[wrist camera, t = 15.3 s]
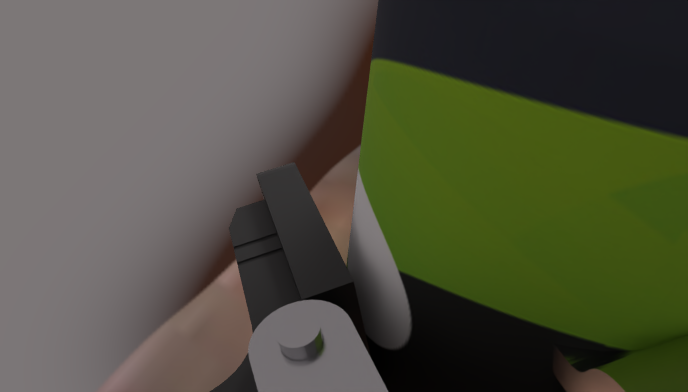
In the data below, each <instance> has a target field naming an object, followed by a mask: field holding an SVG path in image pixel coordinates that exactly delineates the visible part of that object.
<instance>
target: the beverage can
mask: <svg viewBox="0 0 688 392" xmlns="http://www.w3.org/2000/svg"><path fill="white" fill-rule="evenodd" d="M346 267H347V269H348V271H349V273H350V275H351V277H352V279H353V281H354V285H355V290H356V294H357V298H358V303H359V307H360V311H361V316H362V320H363V324H364V329H365V333H366V337H367V342H368V346H369V350H370V355H371V359H372V361H373V363H374V365H375V367H376V369H377V371H378V373H379V375H380V377H381V379H382V380H383V382H384V384H385V386H386V388H387V390H388V392H566V390H565V389H564V387H563V386H562V385H561V383H560V382H559V380H558V379H557V378H556V376H555V375H554V374H553V372H552V363H553V350H554V344H558V345H564V346H570V347H576V348H583V349H591V350H599V351H632V350H639V349H646V348H650V347H653V346H656V345H658V344H661V343H664V342H667V341H669V340H672V339H675V338H678V337H681V336H684V335H687V334H688V0H379V2H378V10H377V18H376V27H375V34H374V43H373V51H372V60H371V69H370V76H369V84H368V92H367V101H366V109H365V117H364V126H363V135H362V142H361V150H360V159H359V167H358V175H357V183H356V192H355V200H354V208H353V217H352V225H351V233H350V241H349V250H348V258H347V266H346Z"/></svg>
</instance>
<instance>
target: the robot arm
mask: <svg viewBox="0 0 688 392" xmlns="http://www.w3.org/2000/svg"><path fill="white" fill-rule="evenodd" d="M256 175H257V178H258V182H259V185H260V188H261V191H262V194H263V198H264V200H262V201H259V202H256V203H253V204H250V205H247V206H244V207H240V208H237V209H236V212H235V214H234V217H233V219H232V222H231V225H230V227H229V230H230V234H231V239H232V242H233V247H234V250H235V256H236V260H237V264H238V268H239V273H240V277H241V281H242V286H243V290H244V294H245V298H246V303H247V307H248V311H249V315H250V320H251V324H252V330H253V335H252V337H251V339H250V343H249V350H248V354H247V356H246V358H245V359H244V361H243V362H242V364H241V365H240V366H239V367H238V369H237V370H236V371H235V372H234V373H233V374H232V375H231V376H230V377H229V378H228V379H227V380H225V381H224V382H223V383H221V384H220V385H219V386H217V387H216V388H214V389H213V390H212V391H210V392H388V390H387V388H386V386H385V384H384V382H383V380H382V379H381V377H380V375H379V373H378V371H377V369H376V367H375V365H374V363H373V361H372V359H371V355H370V350H369V346H368V342H367V337H366V333H365V329H364V324H363V320H362V316H361V311H360V307H359V303H358V298H357V294H356V290H355V285H354V281H353V279H352V277H351V275H350V273H349V271H348V269H347V267H346V265H345V263H344V261H343V259H342V257H341V255H340V253H339V251H338V249H337V247H336V245H335V243H334V241H333V239H332V237H331V235H330V233H329V231H328V229H327V227H326V225H325V223H324V221H323V219H322V217H321V215H320V213H319V211H318V209H317V207H316V205H315V203H314V201H313V199H312V197H311V195H310V193H309V191H308V189H307V187H306V185H305V183H304V181H303V179H302V177H301V175H300V173H299V171H298V169H297V167H296V165H295V163H294V162H293V163H290V164H287V165H283V166H280V167H277V168H274V169H271V170H267V171H264V172H261V173H258V174H256ZM552 372H553V374H554V375H555V376H556V378H557V379H558V380H559V382H560V383H561V385H562V386H563V387H564V389H565V390H566V392H688V334H687V335H684V336H681V337H678V338H675V339H672V340H669V341H667V342H664V343H661V344H658V345H656V346H653V347H650V348H646V349H639V350H632V351H599V350H591V349H583V348H576V347H570V346H564V345H558V344H554V350H553V363H552Z"/></svg>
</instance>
